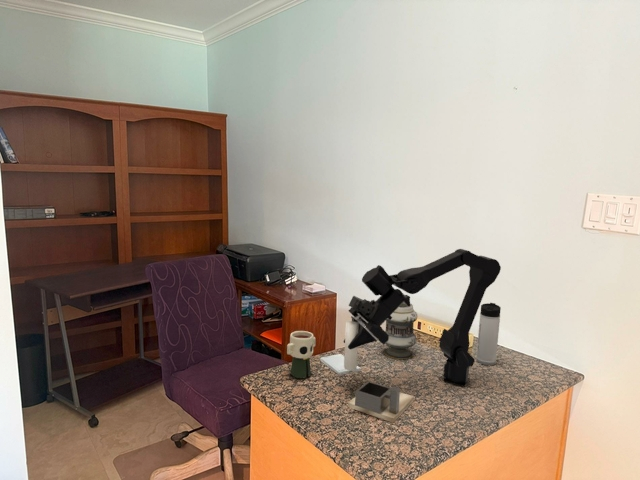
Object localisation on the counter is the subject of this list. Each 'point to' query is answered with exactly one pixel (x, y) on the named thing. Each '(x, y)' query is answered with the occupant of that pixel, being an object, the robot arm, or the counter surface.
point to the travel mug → (488, 334)
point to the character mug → (301, 352)
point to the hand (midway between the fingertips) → (346, 345)
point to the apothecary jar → (401, 332)
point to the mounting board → (386, 415)
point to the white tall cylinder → (350, 354)
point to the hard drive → (337, 364)
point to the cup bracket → (377, 397)
